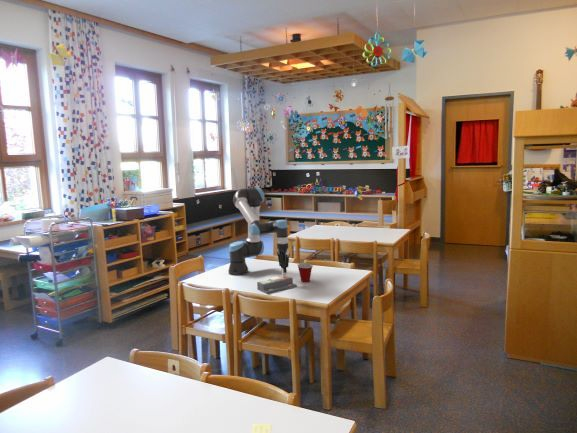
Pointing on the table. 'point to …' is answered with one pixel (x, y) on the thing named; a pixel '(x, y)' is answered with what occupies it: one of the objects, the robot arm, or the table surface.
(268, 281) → the sage key
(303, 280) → the plastic cup
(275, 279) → the cream key
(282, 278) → the terracotta key
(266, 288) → the keypad
